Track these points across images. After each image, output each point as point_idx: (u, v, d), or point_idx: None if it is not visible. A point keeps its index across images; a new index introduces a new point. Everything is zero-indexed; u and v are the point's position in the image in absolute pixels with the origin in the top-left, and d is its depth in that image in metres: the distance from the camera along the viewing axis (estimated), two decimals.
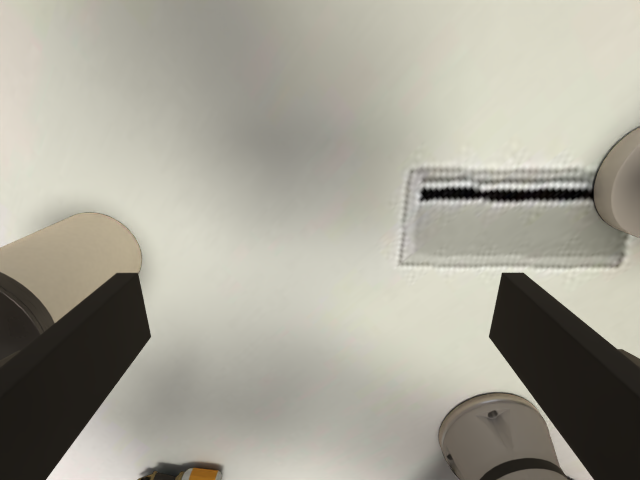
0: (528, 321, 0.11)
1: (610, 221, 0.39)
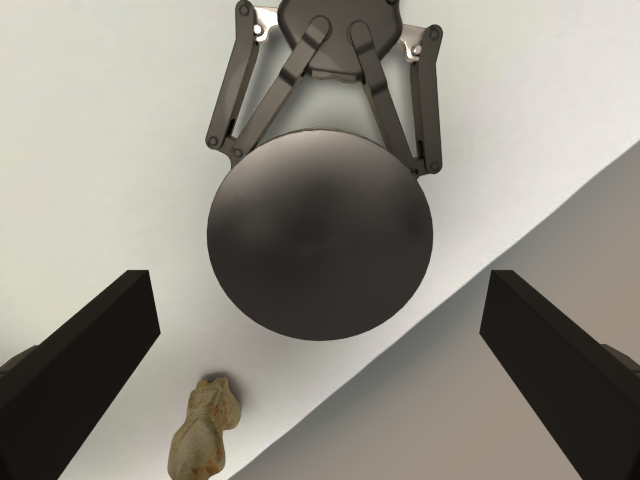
0: (515, 317, 0.11)
1: None
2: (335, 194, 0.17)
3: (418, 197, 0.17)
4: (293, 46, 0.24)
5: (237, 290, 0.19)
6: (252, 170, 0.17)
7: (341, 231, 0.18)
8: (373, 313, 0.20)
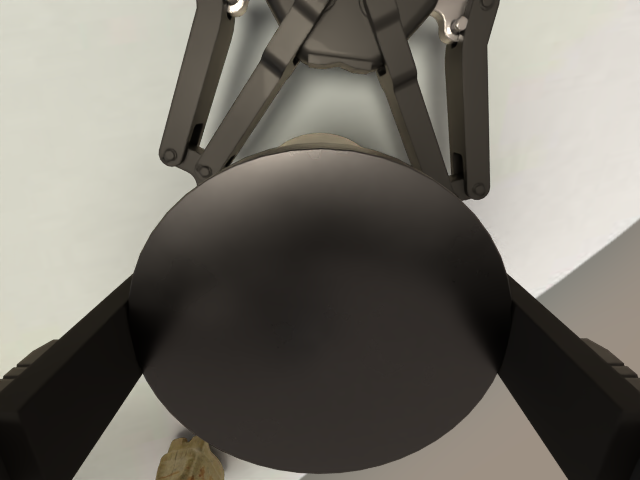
0: None
1: None
2: (347, 259, 0.10)
3: (491, 264, 0.10)
4: (281, 19, 0.16)
5: (185, 405, 0.12)
6: (200, 219, 0.09)
7: (356, 318, 0.11)
8: (405, 437, 0.12)
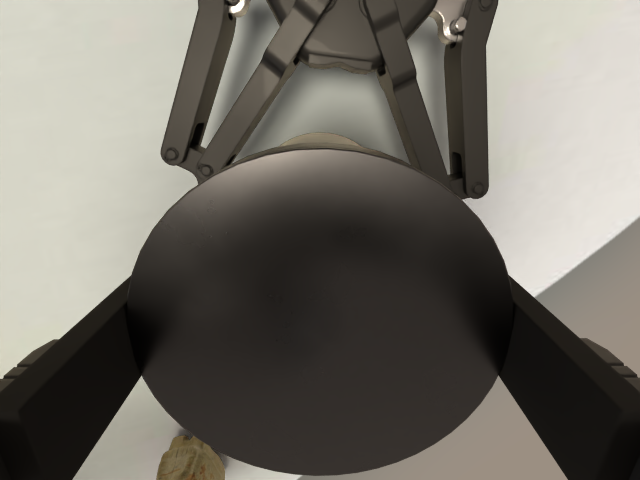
0: None
1: None
2: (225, 331, 0.11)
3: (198, 200, 0.09)
4: (282, 19, 0.16)
5: (405, 443, 0.12)
6: (215, 431, 0.12)
7: (286, 316, 0.10)
8: (453, 240, 0.10)
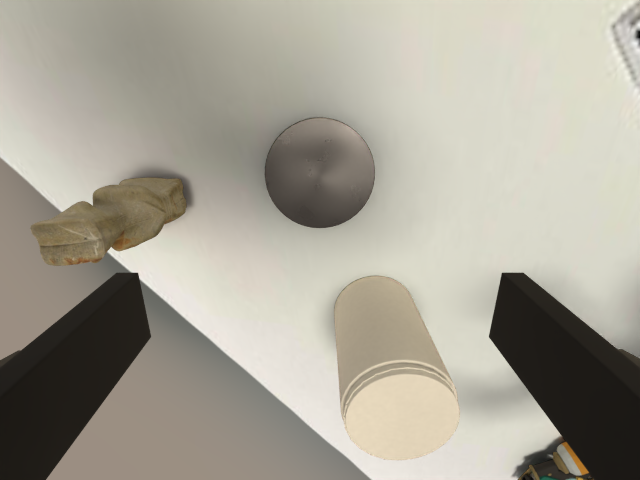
0: (528, 321, 0.11)
1: None
2: (292, 171, 0.37)
3: (288, 131, 0.36)
4: None
5: (347, 213, 0.39)
6: (287, 209, 0.39)
7: (310, 166, 0.37)
8: (355, 143, 0.36)
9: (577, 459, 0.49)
